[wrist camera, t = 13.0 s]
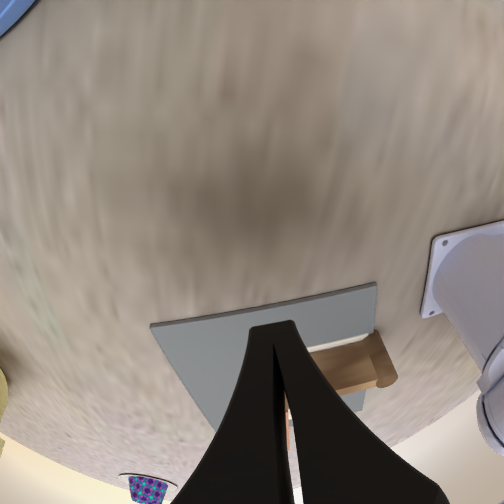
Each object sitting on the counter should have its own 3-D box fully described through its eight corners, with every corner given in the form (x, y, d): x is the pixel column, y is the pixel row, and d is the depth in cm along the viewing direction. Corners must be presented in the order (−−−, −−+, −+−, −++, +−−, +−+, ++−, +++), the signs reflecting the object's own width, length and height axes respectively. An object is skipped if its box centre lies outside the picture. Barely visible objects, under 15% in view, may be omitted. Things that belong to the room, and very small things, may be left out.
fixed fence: (379, 327, 24) (399, 371, 20) (377, 341, 25) (396, 383, 21) (261, 353, 25) (265, 402, 21) (264, 366, 26) (269, 413, 21)
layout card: (375, 282, 21) (377, 286, 21) (361, 407, 31) (362, 410, 31) (150, 324, 22) (149, 329, 22) (218, 432, 32) (218, 435, 32)
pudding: (108, 473, 45) (104, 494, 41) (142, 469, 42) (139, 494, 37) (152, 490, 51) (151, 509, 46) (190, 486, 47) (189, 508, 43)
